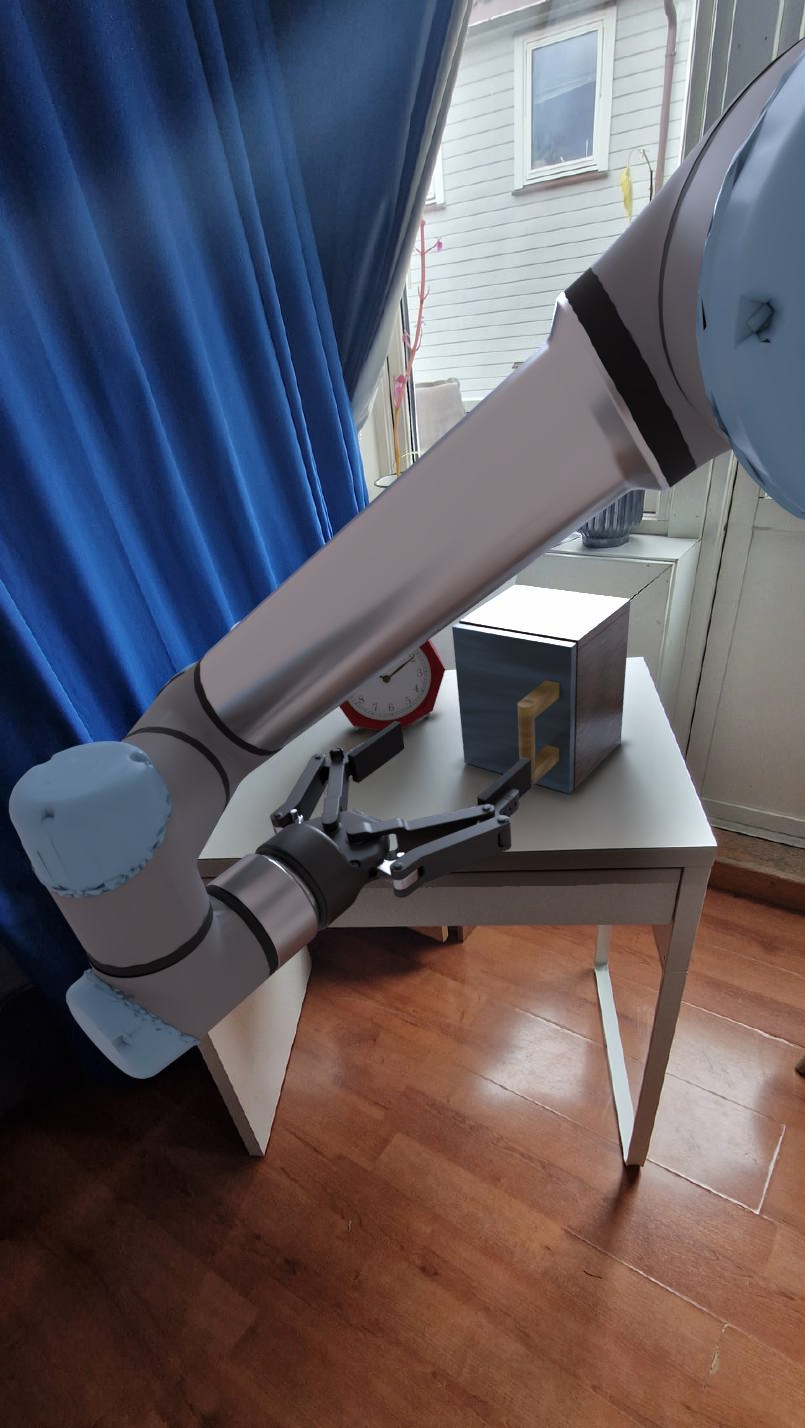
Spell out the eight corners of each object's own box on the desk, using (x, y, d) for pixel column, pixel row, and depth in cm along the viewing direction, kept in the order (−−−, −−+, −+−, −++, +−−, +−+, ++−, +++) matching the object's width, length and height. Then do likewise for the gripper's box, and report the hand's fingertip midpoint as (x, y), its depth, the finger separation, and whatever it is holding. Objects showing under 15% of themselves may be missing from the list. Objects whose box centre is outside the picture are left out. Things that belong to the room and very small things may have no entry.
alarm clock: (339, 744, 94) (306, 589, 81) (335, 714, 100) (304, 567, 88) (451, 723, 94) (434, 566, 81) (439, 695, 101) (423, 545, 88)
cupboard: (574, 789, 79) (578, 640, 68) (470, 758, 87) (458, 620, 76) (621, 742, 85) (630, 599, 74) (519, 718, 93) (515, 584, 82)
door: (541, 821, 75) (539, 672, 65) (435, 786, 83) (417, 648, 72) (573, 789, 79) (576, 643, 68) (469, 758, 87) (457, 623, 76)
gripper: (194, 874, 60) (361, 755, 72) (429, 1002, 47) (588, 829, 58) (164, 801, 56) (348, 685, 67) (416, 919, 42) (592, 749, 53)
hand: (460, 752), depth 63 cm, fingers open, 13 cm apart
